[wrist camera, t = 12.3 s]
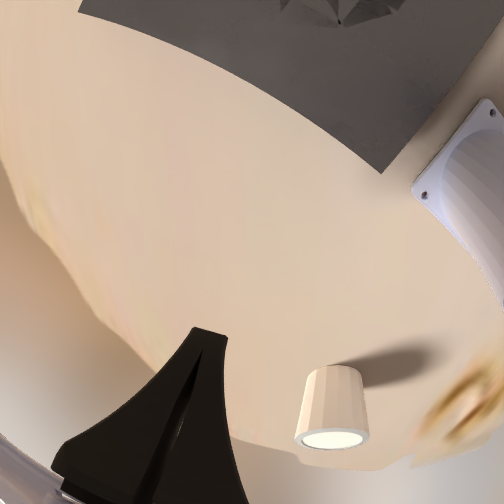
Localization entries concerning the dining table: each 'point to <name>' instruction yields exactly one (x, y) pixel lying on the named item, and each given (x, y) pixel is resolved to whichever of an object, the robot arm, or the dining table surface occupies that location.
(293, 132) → the dining table surface
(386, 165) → the dark grey slab
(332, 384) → the cream tapered cylinder
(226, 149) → the dining table surface
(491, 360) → the dining table surface
